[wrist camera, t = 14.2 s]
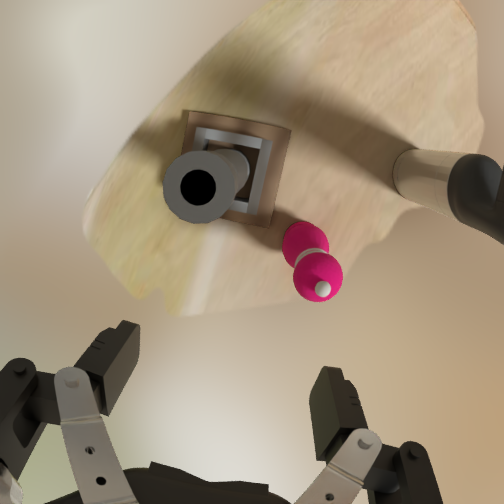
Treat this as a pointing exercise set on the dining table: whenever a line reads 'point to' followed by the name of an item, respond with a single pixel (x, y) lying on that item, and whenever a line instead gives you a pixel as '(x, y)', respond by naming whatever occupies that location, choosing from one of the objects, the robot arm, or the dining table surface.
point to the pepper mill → (311, 262)
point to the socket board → (258, 153)
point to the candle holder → (204, 183)
